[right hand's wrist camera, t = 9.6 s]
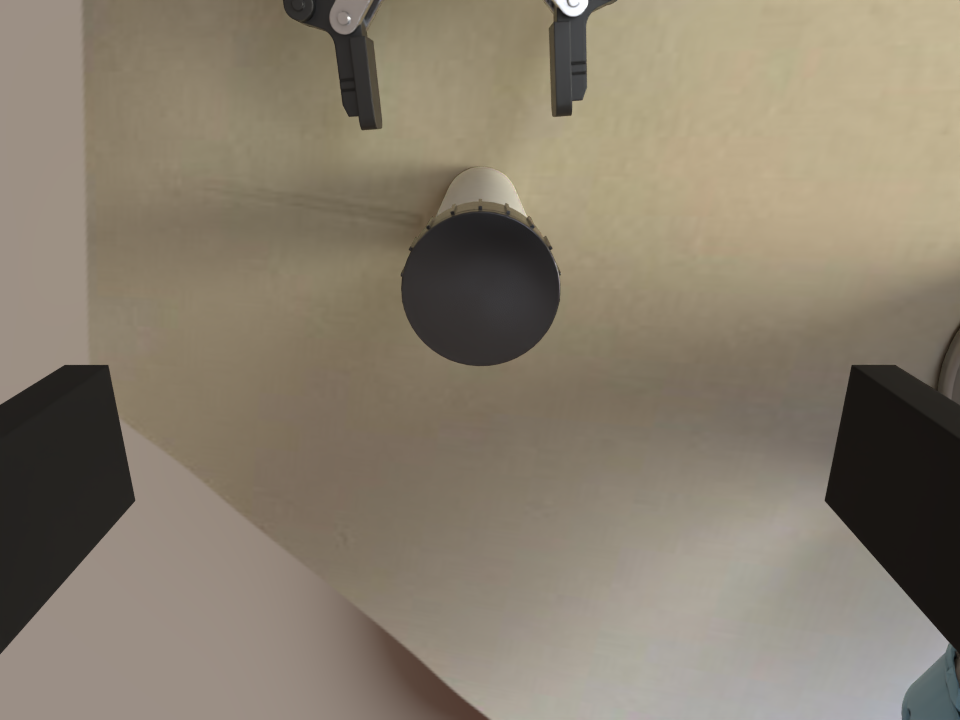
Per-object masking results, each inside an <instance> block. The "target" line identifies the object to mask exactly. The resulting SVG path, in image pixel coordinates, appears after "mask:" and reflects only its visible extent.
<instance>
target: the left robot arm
mask: <svg viewBox="0 0 960 720" xmlns="http://www.w3.org/2000/svg"><path fill="white" fill-rule="evenodd" d="M383 1H384V0H283V3H284V8H285V11H286V13H287V14H288V15H289V16H290V17H291V18H292V19H294V20H296V21H298V22H301V23H303V24H305V25H307V26H309V27H314V28H317V29H320V30H323V31H327V32H328V33H329V34H330V35H331V37H332V39H333V40H334V43H335V49H336V57H337V64H338V72H339V79H340V88H341V95H342V103H343V106H344V108H345V110H346V112H347V114H348V116H349V117H354V116H359V122H360V127H361V129H362V130H372V129H381V128H382V115H381V106H380V97H379V89H378V80H377V71H376V62H375V53H374V44H373V41H372V40H371V39H369V38H368V37H367V30H368V29H369V27H370V25H371V23H372V21H373V19H374V17H375V16H376V14H377V12H378V10H379V8H380V6H381V5H382V3H383ZM543 1H544V3H545V4H546V5H547V7H548V8H549V9H550V11H551V12H552V13H553V15H554V22H553V24H552V25H551V26H550V28H549V44H550V74H551V105H552V116H553V117H559V116H571V115H572V101H579V100H583V97H584V94H585V91H586V89H587V64H586V23H587V19H588V17H589V15H590V14H591V13H592V12H594V11H596V10H598V9H600V8H602V7H604V6H606V5H610V4H612V3H614V2H616V1H617V0H543Z"/></svg>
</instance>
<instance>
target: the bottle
mask: <svg viewBox="0 0 960 720" xmlns="http://www.w3.org/2000/svg"><path fill="white" fill-rule="evenodd" d="M479 199H482V201H486V202H494V203H498V204H503V205H505V203H507V204H509V207H510V208H513V209H515V210H516V211H518V212H520V213H521V214H523V215H524V216H525V217H527V216H526V213H525V211H524V209H523V206H522V204H521V201H520V199H519V197H518V194H517V192H516V189H515V187H514V185H513V184H512V182H511V181H510V180H509V178H508V177H507V176H505V175H504V174H503V173H502V172H500V171H498V170H496V169H493V168H489V167H474V168H470V169H468V170H465V171H464V172H462V173H460V174H459V175H458V176H457V177H456V178H455V179H454V180H453V181H452V183H451V184H450V186H449V188H448V190H447V192H446V195H445V197H444V199H443V201H442V204H441V206H440V208H439V210H438V213H437V215H436V216H438V215H439V214H441V213H442V212H444V211H445V210H447V209H450V208H452V204H455V203H456V206H457V205H460V204H463V203H468V202H476V201H479Z"/></svg>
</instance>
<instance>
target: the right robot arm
mask: <svg viewBox="0 0 960 720" xmlns="http://www.w3.org/2000/svg"><path fill="white" fill-rule="evenodd" d="M134 502H135V497H134V492H133V487H132V482H131V477H130V472H129V467H128V462H127V457H126V452H125V447H124V442H123V437H122V432H121V427H120V422H119V417H118V412H117V407H116V402H115V397H114V392H113V387H112V382H111V377H110V372H109V367H108V365H64V366H62V367H61V368H59V369H58V370H56V371H54V372H53V373H51V374H50V375H48V376H46V377H45V378H43V379H41V380H40V381H38V382H37V383H35V384H33V385H32V386H30V387H28V388H27V389H25V390H24V391H22V392H20V393H19V394H17V395H16V396H14V397H12V398H11V399H9V400H7V401H6V402H4V403H3V404H1V405H0V654H1V653H2V652H3V650H4V649H5V648H6V647H7V646H8V645H9V644H10V643H11V641H12V640H13V639H14V638H15V637H16V636H17V635H18V633H19V632H20V631H21V630H22V629H23V628H24V627H25V625H26V624H27V623H28V622H29V621H30V620H31V619H32V617H33V616H34V615H35V614H36V613H37V612H38V611H39V610H40V608H41V607H42V606H43V605H44V604H45V603H46V602H47V600H48V599H49V598H50V597H51V596H52V595H53V594H54V592H55V591H56V590H57V589H58V588H59V587H60V586H61V585H62V583H63V582H64V581H65V580H66V579H67V578H68V576H69V575H70V574H71V573H72V572H73V571H74V570H75V569H76V567H77V566H78V565H79V564H80V563H81V562H82V561H83V559H84V558H85V557H86V556H87V555H88V554H89V553H90V551H91V550H92V549H93V548H94V547H95V546H96V545H97V544H98V542H99V541H100V540H101V539H102V538H103V537H104V536H105V535H106V533H107V532H108V531H109V530H110V529H111V528H112V527H113V525H114V524H115V523H116V522H117V521H118V520H119V519H120V517H121V516H122V515H123V514H124V513H125V512H126V511H127V509H128V508H129V507H130V506H131V505H132V504H133V503H134ZM825 502H826V503H827V504H828V505H829V506H830V507H831V508H832V509H833V511H834V512H835V513H836V514H837V515H838V516H839V517H840V519H841V520H842V521H843V522H844V523H845V524H846V525H847V527H848V528H849V529H850V530H851V531H852V532H853V533H854V535H855V536H856V537H857V538H858V539H859V540H860V541H861V542H862V544H863V545H864V546H865V547H866V548H867V549H868V550H869V552H870V553H871V554H872V555H873V556H874V557H875V558H876V560H877V561H878V562H879V563H880V564H881V565H882V566H883V567H884V569H885V570H886V571H887V572H888V573H889V574H890V575H891V577H892V578H893V579H894V580H895V581H896V582H897V583H898V585H899V586H900V587H901V588H902V589H903V590H904V591H905V592H906V594H907V595H908V596H909V597H910V598H911V599H912V600H913V602H914V603H915V604H916V605H917V606H918V607H919V608H920V610H921V611H922V612H923V613H924V614H925V615H926V616H927V618H928V619H929V620H930V621H931V622H932V623H933V624H934V625H935V627H936V628H937V629H938V630H939V631H940V632H941V633H942V635H943V636H944V637H945V638H946V639H947V640H948V641H949V645H948V648H947V650H946V653H945V654H944V655H943V656H942V657H940V658H939V659H938V660H937V661H936V662H935V663H934V664H933V665H932V666H931V667H930V668H929V669H928V670H927V671H926V672H925V673H924V674H923V675H922V676H921V677H920V678H919V679H917V680H916V681H915V682H914V683H913V684H912V685H911V686H910V688H909V689H908V691H907V692H906V694H905V697H904V700H903V703H902V720H960V329H959V330H958V332H957V333H956V335H955V337H954V339H953V341H952V342H951V344H950V347H949V349H948V351H947V353H946V356H945V359H944V362H943V364H942V368H941V372H940V376H939V383H938V391H936V390H935V389H933V388H932V387H930V386H928V385H927V384H925V383H923V382H922V381H920V380H919V379H917V378H915V377H914V376H912V375H910V374H909V373H907V372H906V371H904V370H902V369H901V368H899V367H898V366H896V365H852V367H851V372H850V377H849V382H848V387H847V392H846V397H845V402H844V407H843V412H842V417H841V422H840V427H839V432H838V437H837V442H836V447H835V452H834V457H833V462H832V467H831V472H830V477H829V482H828V487H827V492H826V497H825Z"/></svg>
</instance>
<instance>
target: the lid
mask: <svg viewBox="0 0 960 720" xmlns="http://www.w3.org/2000/svg"><path fill="white" fill-rule="evenodd" d="M551 249H552V247H551V245H550V243H549V241H548V239H547V237H546V236H545V237H543V235H542V234H541V232H540V231H539V230H538V228H537V227H536V226H535V225H534V223H533V221H532V219H531V217H530V216H528V217H525V216H524V215H523V214H521V213H520V212H518V211H516V210H515V209H513V208H510V207H509V204H507V203H505V205H503V204H498V203H494V202H486V201H482V199H479V201H476V202H468V203H463V204H460V205H457V206H456V203H455V204H452V208H450V209H447V210H445V211H444V212H442V213H441V214H439V215H438V216H436V217H435V218H433V217H431V218H430V220H429V222H428V224H427V226H426V227H425V228H424V229H423V231H422V232H421V234H420V235H419V237H418V238H417V237H415V239H414V241H413V243H412V244H411V246H410V248H409V250H410V251H411V253H410V255H409V257H408V259H407V261H406V264H405V267H404V269H403V271H402V273H401V276H402V286H401V291H402V302H403V306H404V310H405V313H406V316H407V318H408V320H409V322H410V324H411V326H412V328H413V329H414V331H415V332H416V334H417V335H418V337H419V338H420V339H421V340H422V341H423V342H424V343H425V344H426V345H427V346H428V347H429V348H431V349H432V350H433V351H435V352H436V353H438V354H439V355H441V356H443V357H445V358H447V359H449V360H452V361H454V362H457V363H461V364H466V365H473V366H490V365H496V364H501V363H504V362H508V361H510V360H513V359H515V358H517V357H519V356H521V355H522V354H524V353H526V352H527V351H528V350H530V349H531V348H532V347H534V346H535V345H536V344H537V343H538V342H539V341H540V340H541V339H542V337H543V336H544V335H545V334H546V332H547V331H548V329H549V328H550V326H551V324H552V322H553V320H554V318H555V315H556V312H557V309H558V305H559V302H560V278H559V275H561V272H560V270H559V268H558V266H557V264H556V262H555V260H554V257H553V255H552V253H551V251H550V250H551Z"/></svg>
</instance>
